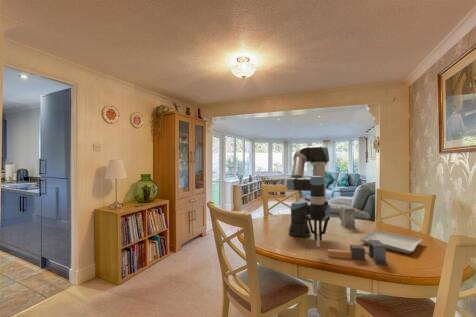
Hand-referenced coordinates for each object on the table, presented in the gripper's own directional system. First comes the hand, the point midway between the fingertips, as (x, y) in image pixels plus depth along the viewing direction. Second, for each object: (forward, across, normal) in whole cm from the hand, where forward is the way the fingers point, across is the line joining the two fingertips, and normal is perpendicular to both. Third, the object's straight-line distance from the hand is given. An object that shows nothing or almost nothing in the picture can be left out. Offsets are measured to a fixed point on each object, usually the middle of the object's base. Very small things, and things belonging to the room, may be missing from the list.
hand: (318, 246), depth 126 cm
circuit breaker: (+4, +29, +66) cm, 72 cm away
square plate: (+5, +46, +26) cm, 53 cm away
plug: (+5, +15, 0) cm, 16 cm away
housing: (+5, +30, 0) cm, 30 cm away
